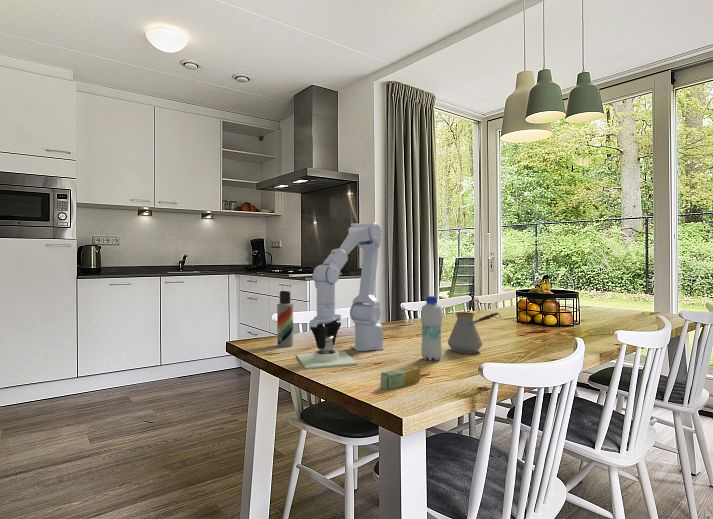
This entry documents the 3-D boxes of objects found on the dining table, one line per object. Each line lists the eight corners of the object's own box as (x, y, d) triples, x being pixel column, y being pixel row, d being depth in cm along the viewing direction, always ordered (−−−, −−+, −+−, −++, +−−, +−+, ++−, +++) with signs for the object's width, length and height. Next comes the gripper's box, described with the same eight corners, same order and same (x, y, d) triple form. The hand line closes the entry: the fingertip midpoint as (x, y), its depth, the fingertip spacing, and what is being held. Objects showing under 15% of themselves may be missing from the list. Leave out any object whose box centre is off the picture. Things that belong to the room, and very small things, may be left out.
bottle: (443, 357, 140) (443, 295, 140) (440, 362, 134) (440, 297, 133) (422, 356, 142) (422, 294, 142) (418, 360, 136) (418, 296, 135)
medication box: (386, 391, 107) (387, 375, 107) (379, 388, 109) (379, 372, 109) (420, 382, 115) (420, 367, 115) (412, 379, 117) (413, 364, 117)
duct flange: (343, 352, 147) (343, 345, 147) (358, 364, 132) (358, 356, 132) (296, 356, 142) (296, 348, 142) (305, 369, 127) (305, 360, 127)
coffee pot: (440, 349, 152) (440, 306, 152) (466, 345, 157) (466, 304, 157) (484, 363, 133) (484, 314, 132) (512, 358, 138) (512, 311, 138)
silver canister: (337, 353, 139) (336, 334, 138) (328, 358, 134) (328, 339, 133) (323, 350, 141) (322, 332, 140) (314, 356, 137) (313, 337, 136)
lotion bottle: (274, 346, 157) (273, 291, 157) (282, 343, 163) (282, 289, 162) (288, 347, 155) (287, 291, 155) (296, 344, 161) (295, 290, 160)
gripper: (327, 300, 145) (328, 341, 145) (301, 305, 132) (301, 349, 132) (346, 301, 141) (346, 343, 142) (320, 306, 129) (321, 352, 129)
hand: (326, 346), depth 137 cm, fingers closed on silver canister, 5 cm apart
